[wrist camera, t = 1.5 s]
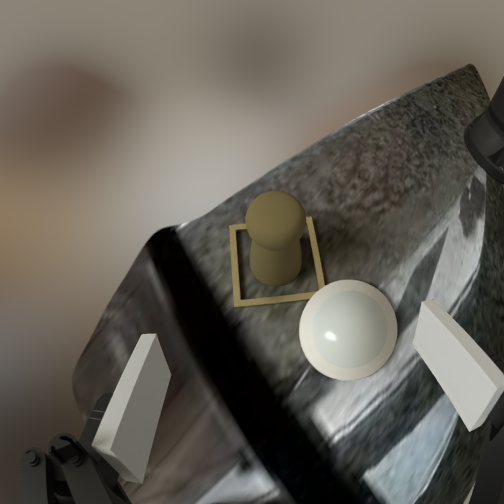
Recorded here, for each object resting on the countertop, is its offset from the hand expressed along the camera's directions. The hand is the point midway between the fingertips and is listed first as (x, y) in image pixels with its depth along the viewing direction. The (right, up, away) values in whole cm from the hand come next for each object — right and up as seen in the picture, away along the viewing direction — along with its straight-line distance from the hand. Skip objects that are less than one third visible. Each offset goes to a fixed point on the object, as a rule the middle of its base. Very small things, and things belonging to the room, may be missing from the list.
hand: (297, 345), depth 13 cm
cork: (+1, +3, +20) cm, 21 cm away
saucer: (+8, -4, +16) cm, 19 cm away
